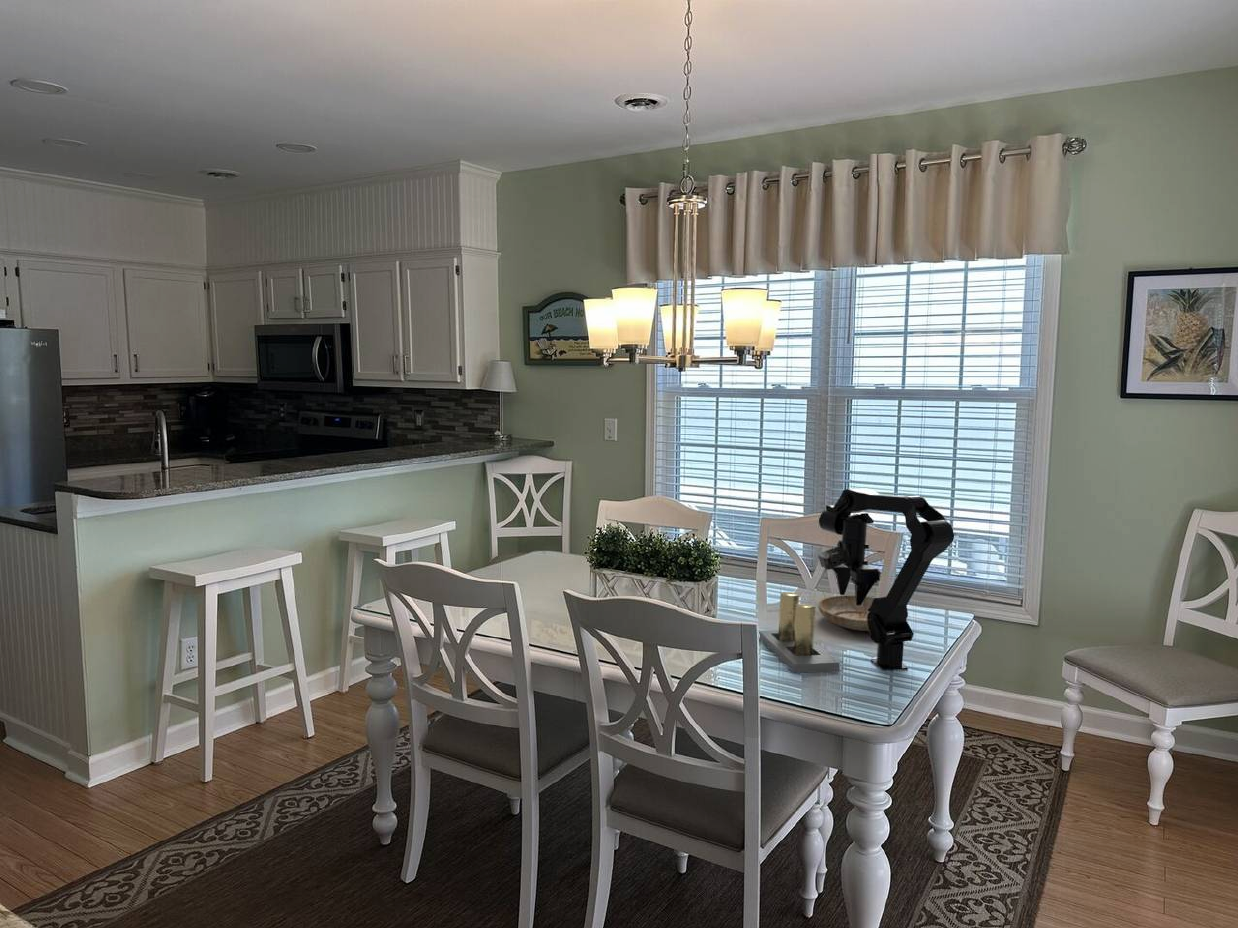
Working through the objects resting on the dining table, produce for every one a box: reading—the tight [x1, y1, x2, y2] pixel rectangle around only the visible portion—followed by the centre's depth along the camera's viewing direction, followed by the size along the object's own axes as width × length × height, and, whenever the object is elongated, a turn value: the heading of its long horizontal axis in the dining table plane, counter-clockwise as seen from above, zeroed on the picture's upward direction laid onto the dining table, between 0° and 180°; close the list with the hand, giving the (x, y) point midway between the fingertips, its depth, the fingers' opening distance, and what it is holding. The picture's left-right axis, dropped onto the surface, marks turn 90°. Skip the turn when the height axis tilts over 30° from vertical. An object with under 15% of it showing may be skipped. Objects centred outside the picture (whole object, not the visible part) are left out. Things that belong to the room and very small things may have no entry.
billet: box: [778, 591, 800, 642], centre depth 214 cm, size 4×4×13 cm
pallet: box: [758, 629, 841, 674], centre depth 208 cm, size 24×11×2 cm, turn 10°
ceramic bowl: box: [817, 594, 876, 632], centre depth 233 cm, size 23×24×5 cm
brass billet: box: [794, 603, 817, 656], centre depth 204 cm, size 4×4×13 cm
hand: (850, 599), depth 213 cm, fingers open, 9 cm apart
